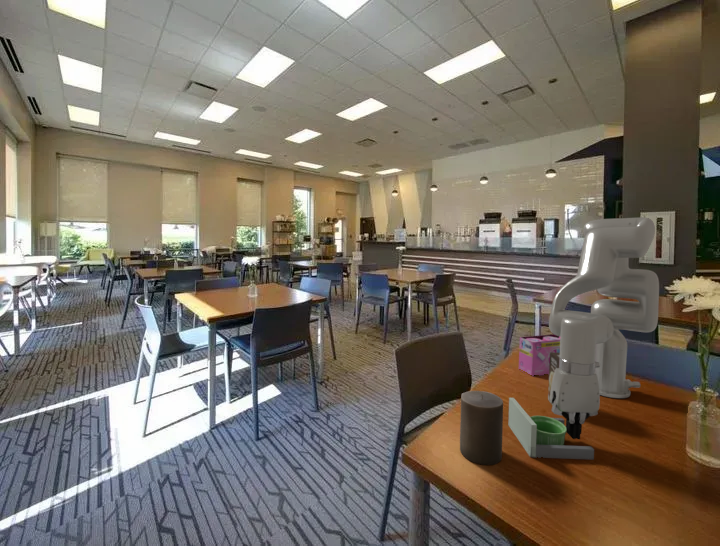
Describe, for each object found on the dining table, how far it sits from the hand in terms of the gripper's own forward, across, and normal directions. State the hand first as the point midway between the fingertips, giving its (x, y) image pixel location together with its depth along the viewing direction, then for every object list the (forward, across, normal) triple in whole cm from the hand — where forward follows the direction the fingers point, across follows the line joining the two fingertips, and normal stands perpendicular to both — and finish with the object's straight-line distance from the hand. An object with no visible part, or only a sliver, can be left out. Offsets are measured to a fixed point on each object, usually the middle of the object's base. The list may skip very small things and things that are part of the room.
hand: (573, 436), depth 87 cm
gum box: (+2, -18, -50) cm, 54 cm away
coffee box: (+2, -7, -19) cm, 20 cm away
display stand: (+2, +6, 0) cm, 7 cm away
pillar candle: (+2, +25, +6) cm, 26 cm away
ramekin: (+2, +7, 0) cm, 7 cm away
